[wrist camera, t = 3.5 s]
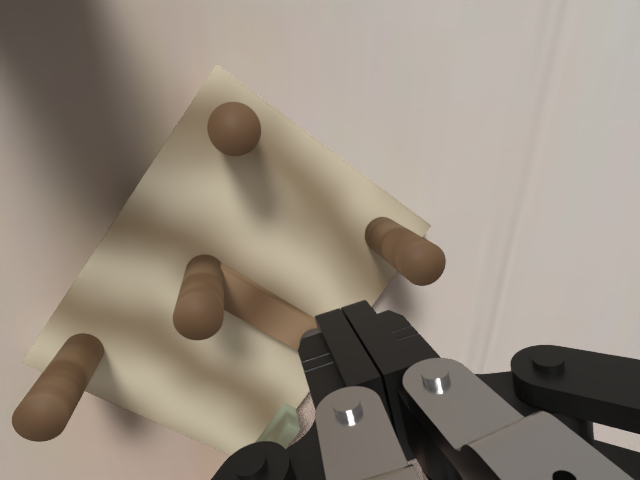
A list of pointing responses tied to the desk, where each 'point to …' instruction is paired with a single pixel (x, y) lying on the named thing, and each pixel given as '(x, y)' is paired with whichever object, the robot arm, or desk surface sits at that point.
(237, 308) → the swing leg
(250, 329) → the stool frame
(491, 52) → the desk surface
